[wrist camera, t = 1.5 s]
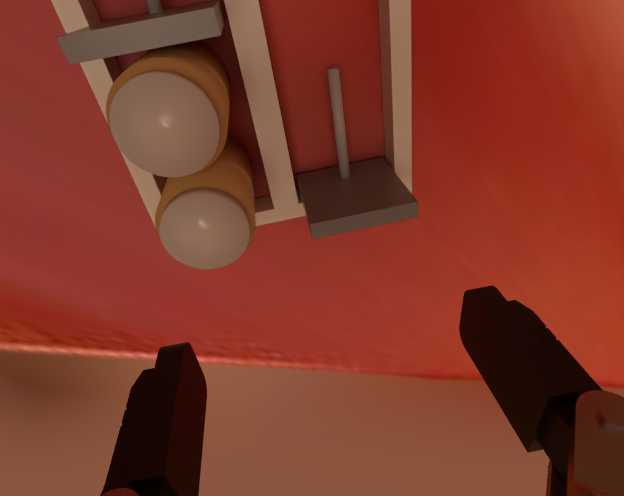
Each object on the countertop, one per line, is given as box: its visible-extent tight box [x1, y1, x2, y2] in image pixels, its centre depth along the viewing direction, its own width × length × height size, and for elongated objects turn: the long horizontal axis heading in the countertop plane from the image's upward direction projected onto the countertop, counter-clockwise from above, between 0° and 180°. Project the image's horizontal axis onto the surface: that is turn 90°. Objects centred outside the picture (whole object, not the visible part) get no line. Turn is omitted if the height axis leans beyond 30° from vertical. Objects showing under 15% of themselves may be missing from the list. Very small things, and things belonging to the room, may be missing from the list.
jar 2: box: [155, 134, 256, 269], centre depth 28 cm, size 6×6×10 cm
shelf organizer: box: [51, 0, 412, 228], centre depth 25 cm, size 23×21×8 cm
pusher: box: [296, 67, 418, 239], centre depth 28 cm, size 9×7×8 cm
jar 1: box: [106, 40, 231, 177], centre depth 24 cm, size 6×6×10 cm
